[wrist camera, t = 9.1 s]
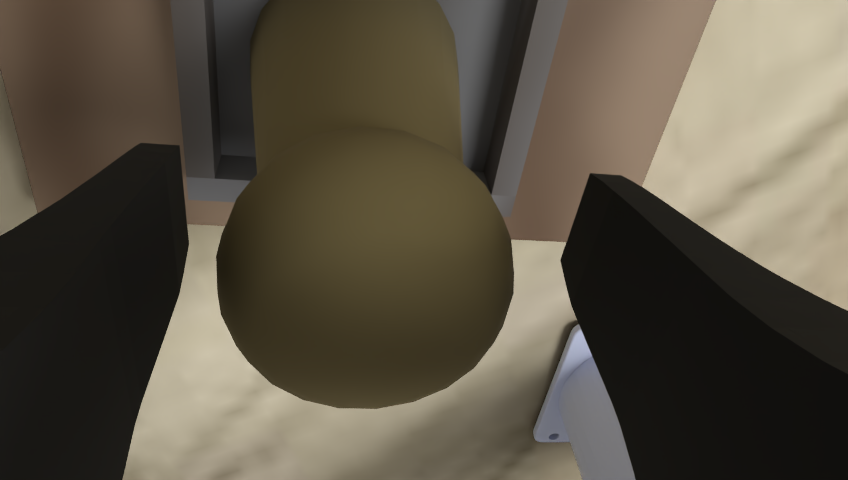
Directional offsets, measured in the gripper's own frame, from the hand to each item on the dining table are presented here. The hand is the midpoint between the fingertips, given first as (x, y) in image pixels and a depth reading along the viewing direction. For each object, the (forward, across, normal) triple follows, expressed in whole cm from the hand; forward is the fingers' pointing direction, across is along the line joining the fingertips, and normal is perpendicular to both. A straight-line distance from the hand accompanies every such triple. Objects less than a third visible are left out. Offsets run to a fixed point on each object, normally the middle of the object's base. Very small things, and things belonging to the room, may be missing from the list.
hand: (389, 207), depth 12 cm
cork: (+9, 0, +1) cm, 9 cm away
